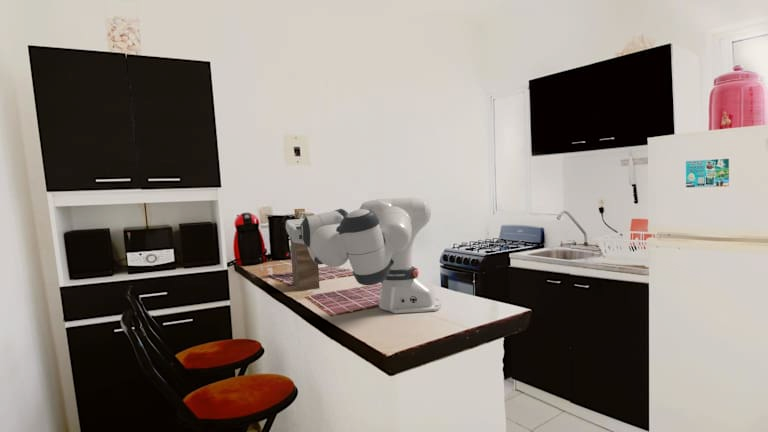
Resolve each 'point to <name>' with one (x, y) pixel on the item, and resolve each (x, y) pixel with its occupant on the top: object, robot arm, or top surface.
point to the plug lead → (301, 211)
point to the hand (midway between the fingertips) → (307, 215)
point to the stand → (303, 268)
